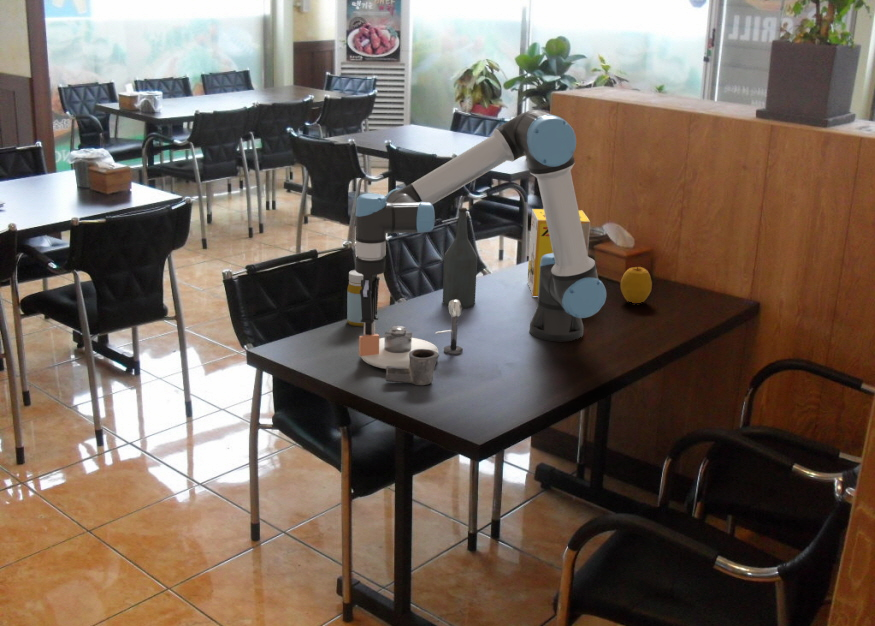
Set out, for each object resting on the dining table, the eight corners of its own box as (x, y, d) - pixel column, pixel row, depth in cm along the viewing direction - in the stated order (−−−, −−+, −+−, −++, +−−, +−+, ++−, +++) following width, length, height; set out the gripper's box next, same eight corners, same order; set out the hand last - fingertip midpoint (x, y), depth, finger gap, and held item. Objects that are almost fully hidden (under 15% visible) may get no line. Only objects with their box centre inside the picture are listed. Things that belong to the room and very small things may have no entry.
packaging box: (583, 299, 307) (590, 221, 299) (532, 297, 306) (537, 220, 298) (576, 284, 322) (582, 210, 314) (527, 282, 322) (532, 208, 314)
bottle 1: (368, 328, 274) (368, 277, 269) (344, 325, 275) (344, 274, 271) (374, 320, 281) (375, 270, 276) (351, 317, 282) (351, 268, 277)
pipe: (385, 378, 240) (386, 348, 237) (437, 378, 241) (438, 348, 238) (386, 388, 234) (386, 357, 231) (438, 388, 235) (440, 357, 232)
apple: (627, 295, 311) (630, 260, 307) (655, 302, 306) (659, 266, 302) (613, 303, 304) (617, 267, 300) (642, 309, 298) (646, 273, 295)
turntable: (419, 338, 264) (419, 315, 262) (451, 364, 247) (452, 340, 245) (346, 347, 255) (346, 324, 253) (374, 375, 238) (374, 350, 236)
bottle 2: (481, 306, 296) (486, 210, 286) (454, 311, 291) (458, 213, 281) (463, 297, 304) (467, 203, 295) (436, 301, 299) (439, 205, 290)
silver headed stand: (457, 347, 262) (459, 296, 257) (466, 353, 258) (468, 301, 253) (430, 351, 258) (432, 299, 254) (439, 357, 254) (441, 305, 250)
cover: (405, 342, 256) (405, 322, 255) (415, 351, 250) (416, 331, 249) (380, 345, 254) (380, 325, 252) (390, 354, 248) (390, 334, 246)
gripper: (361, 248, 248) (360, 335, 256) (349, 262, 236) (349, 352, 244) (389, 250, 247) (388, 337, 255) (380, 264, 235) (378, 355, 243)
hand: (369, 344), depth 249 cm, fingers closed
